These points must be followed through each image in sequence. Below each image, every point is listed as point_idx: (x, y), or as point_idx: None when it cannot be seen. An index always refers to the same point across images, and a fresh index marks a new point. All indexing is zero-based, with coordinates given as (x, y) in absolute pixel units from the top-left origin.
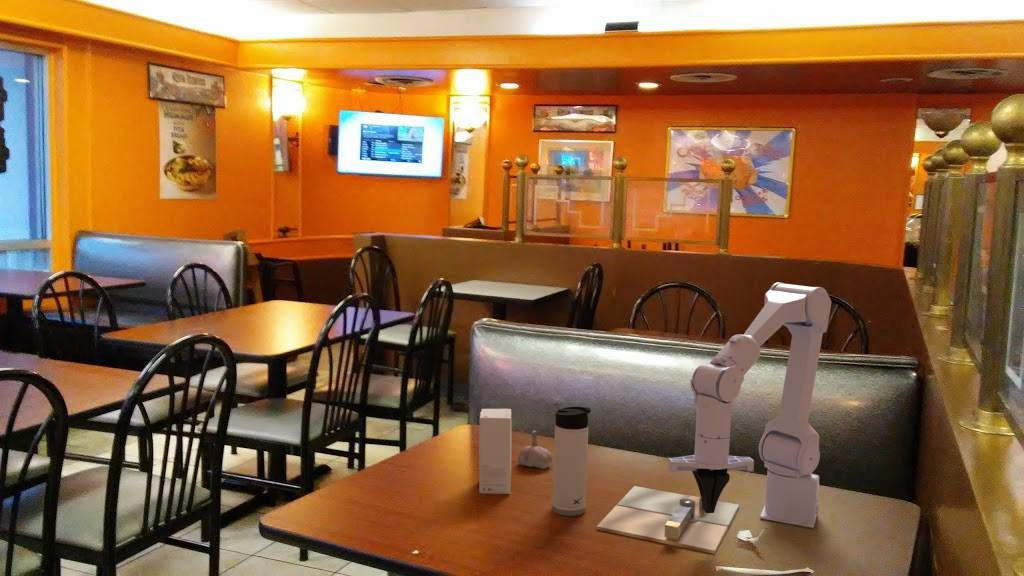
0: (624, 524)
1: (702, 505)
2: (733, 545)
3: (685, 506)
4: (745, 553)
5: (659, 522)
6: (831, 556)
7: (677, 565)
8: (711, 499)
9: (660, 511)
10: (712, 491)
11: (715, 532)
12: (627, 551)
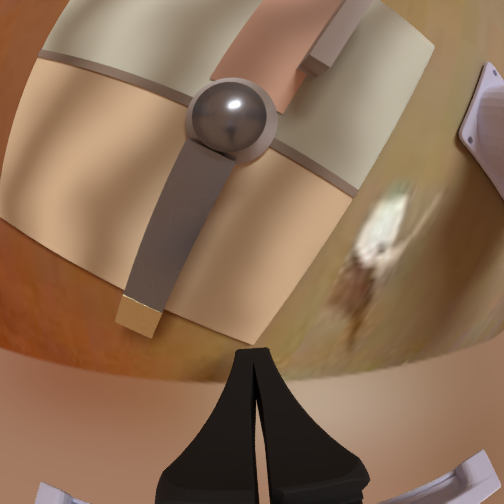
0: (38, 195)
1: (234, 359)
2: (321, 295)
3: (211, 152)
4: (328, 332)
5: (126, 166)
6: (463, 322)
7: (159, 374)
8: (260, 417)
9: (149, 69)
10: (265, 447)
11: (297, 242)
12: (64, 318)
